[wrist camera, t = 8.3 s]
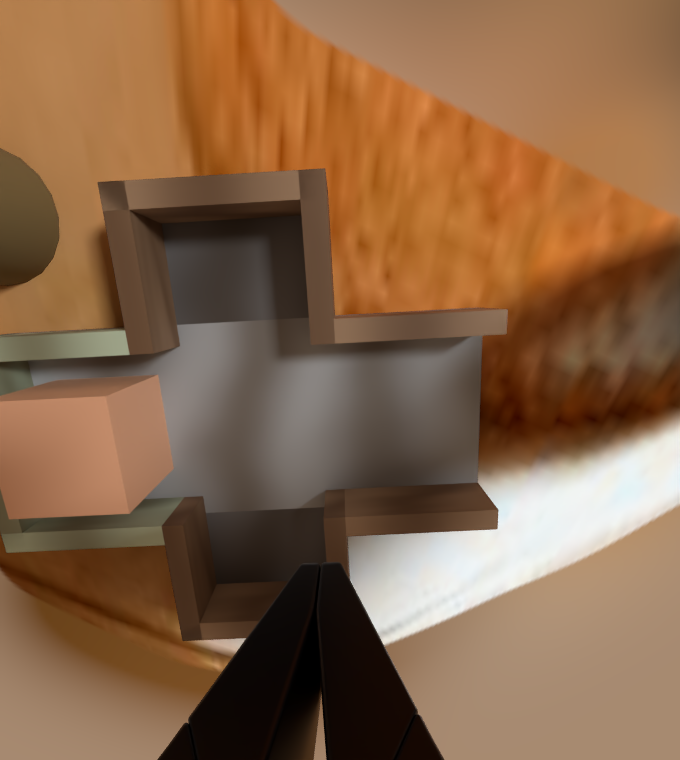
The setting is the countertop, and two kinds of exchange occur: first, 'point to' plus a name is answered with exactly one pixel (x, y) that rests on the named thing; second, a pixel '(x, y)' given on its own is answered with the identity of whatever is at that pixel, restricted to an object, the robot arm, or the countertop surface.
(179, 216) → the trap lane
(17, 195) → the olive green pepper mill
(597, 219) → the countertop surface
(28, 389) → the block
